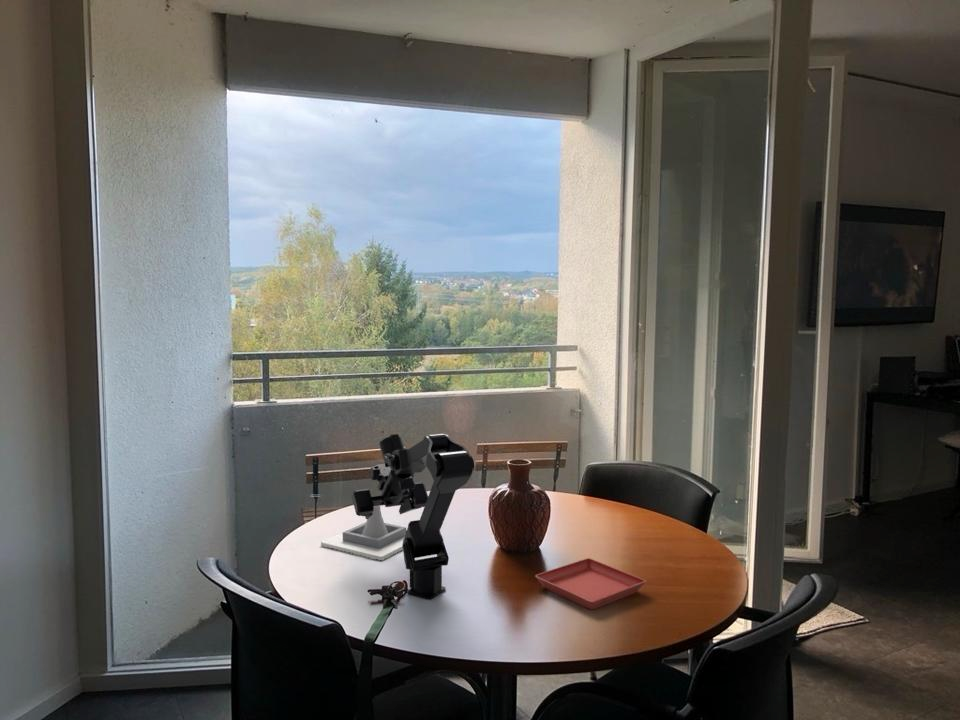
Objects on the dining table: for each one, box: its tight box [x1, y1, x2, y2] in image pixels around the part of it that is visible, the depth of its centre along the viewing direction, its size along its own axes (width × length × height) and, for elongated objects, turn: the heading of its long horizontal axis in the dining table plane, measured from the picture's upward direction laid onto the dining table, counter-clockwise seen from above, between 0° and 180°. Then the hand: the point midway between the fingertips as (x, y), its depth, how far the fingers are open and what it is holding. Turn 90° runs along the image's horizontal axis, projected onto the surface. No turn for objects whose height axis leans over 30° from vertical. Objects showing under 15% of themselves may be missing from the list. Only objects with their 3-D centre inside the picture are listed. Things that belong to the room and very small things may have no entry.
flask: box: [362, 506, 388, 538], centre depth 193 cm, size 7×7×10 cm
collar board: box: [320, 522, 407, 561], centre depth 193 cm, size 20×20×3 cm
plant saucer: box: [534, 557, 647, 610], centre depth 163 cm, size 18×18×3 cm
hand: (383, 515), depth 187 cm, fingers open, 9 cm apart
